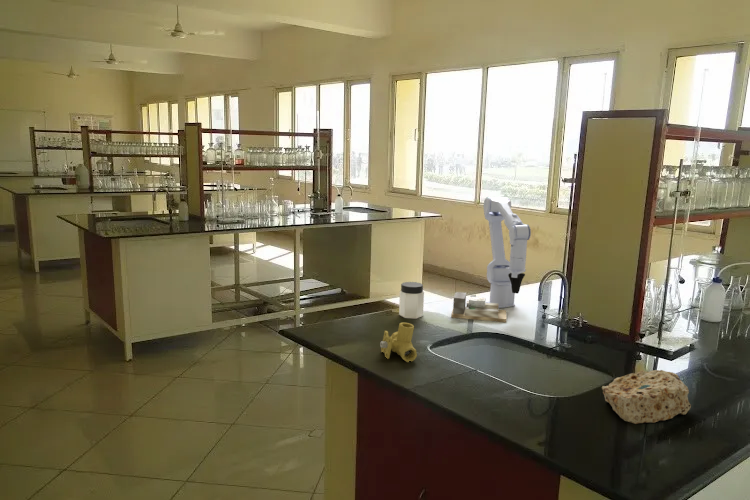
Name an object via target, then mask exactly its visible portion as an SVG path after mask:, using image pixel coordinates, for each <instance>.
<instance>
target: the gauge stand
mask: <svg viewBox="0 0 750 500" xmlns="http://www.w3.org/2000/svg"><path fill="white" fill-rule="evenodd" d="M466 300H467V292H461V291H456V292H455V293H454V295H453V303H452V304H453V306H452V307H453V308H452V311H451V314H450V318H451V317H452V319H464V320H474V321H475V320H476V321H477V320H478V321H486V322H499V323H507V310H506V309H500V308H498V307H499V304H498V303H485V309H484V308H473V307H470V308H469V307H468V306H469V300H467V301H466Z"/></svg>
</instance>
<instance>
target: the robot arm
mask: <svg viewBox="0 0 750 500" xmlns="http://www.w3.org/2000/svg"><path fill="white" fill-rule="evenodd" d="M483 214H484V215H483V216H484V218H485V220H487V222H488V227H489V236H490V244H491V254H492V260H491V261H490V262H489V263H488V264H487V266H486V279H487V281H488V283H489V284H490V291H489V301H485V303H498V304H499V307H498V309H503V308H510V307H515V306H516V304H515V297H516V296H515V295H516V294H519V292H520V290H521V289H520V288H521V286H522V283H523V279H524V277H525V276H526V273H525V272H526V271H527V269H526V263H527V248H528V241H529V240H530V238H531V235H532V232H531V227H530V225H529V224H526V223H523V221H522V219H521V218H520V216H519V215H518V214H517V213H514V212H513V210H512V201H511V199H510V197H508V196H507V197H495V196H494V197H491V196H490V197H489V196H487V197H485V199H484V201H483ZM502 221H504V224H505V226H506V228H507V230H508V237H509V245H510V253H509V260H508V259H506V253H505V244H504V243H505V242H504V236H503V228H502V227H503V226H502Z"/></svg>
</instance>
